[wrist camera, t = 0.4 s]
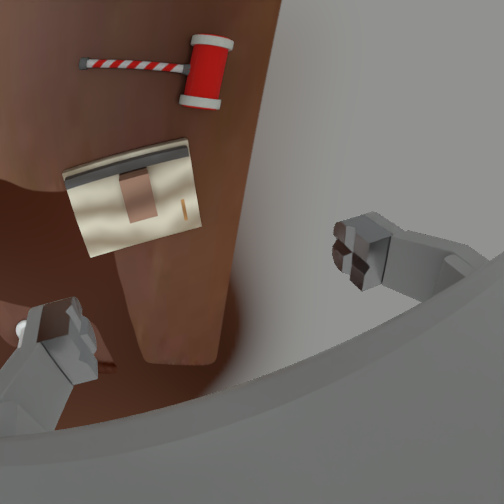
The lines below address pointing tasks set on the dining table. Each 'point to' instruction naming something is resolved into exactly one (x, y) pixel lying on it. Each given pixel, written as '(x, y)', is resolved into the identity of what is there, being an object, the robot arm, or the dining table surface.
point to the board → (112, 203)
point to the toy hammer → (187, 70)
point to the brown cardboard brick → (137, 194)
